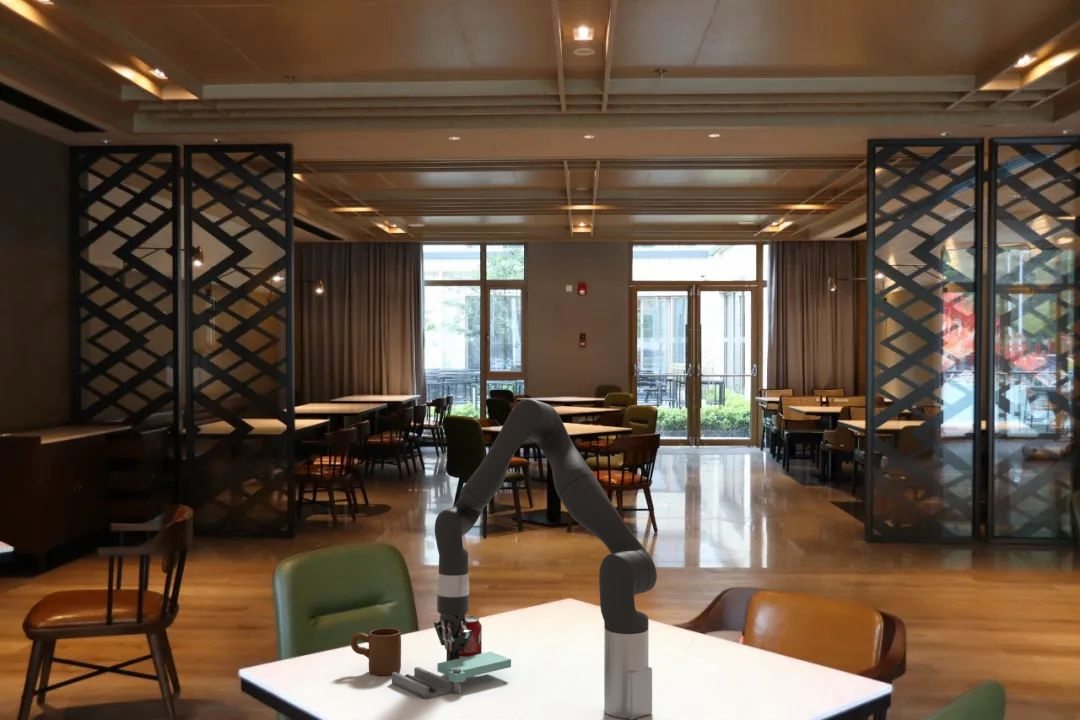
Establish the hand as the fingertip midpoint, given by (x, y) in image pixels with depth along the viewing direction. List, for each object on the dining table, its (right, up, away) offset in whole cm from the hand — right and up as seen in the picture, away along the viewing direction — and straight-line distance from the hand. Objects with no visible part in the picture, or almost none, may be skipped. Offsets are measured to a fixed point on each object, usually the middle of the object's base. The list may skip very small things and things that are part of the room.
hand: (452, 665), depth 228 cm
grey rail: (-5, -1, -11) cm, 12 cm away
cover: (+6, +1, -7) cm, 9 cm away
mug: (-18, -2, +1) cm, 18 cm away
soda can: (+3, -2, +3) cm, 5 cm away
